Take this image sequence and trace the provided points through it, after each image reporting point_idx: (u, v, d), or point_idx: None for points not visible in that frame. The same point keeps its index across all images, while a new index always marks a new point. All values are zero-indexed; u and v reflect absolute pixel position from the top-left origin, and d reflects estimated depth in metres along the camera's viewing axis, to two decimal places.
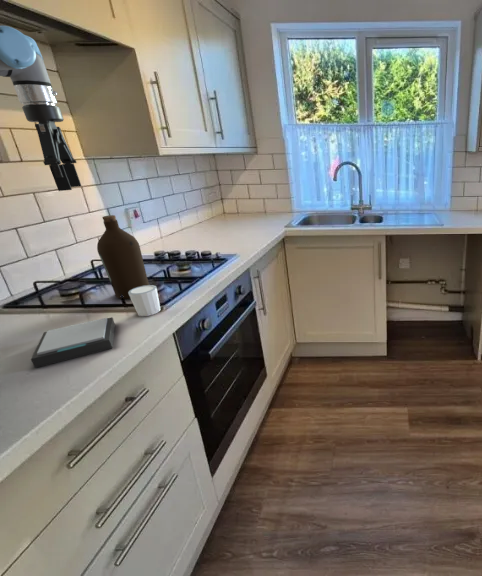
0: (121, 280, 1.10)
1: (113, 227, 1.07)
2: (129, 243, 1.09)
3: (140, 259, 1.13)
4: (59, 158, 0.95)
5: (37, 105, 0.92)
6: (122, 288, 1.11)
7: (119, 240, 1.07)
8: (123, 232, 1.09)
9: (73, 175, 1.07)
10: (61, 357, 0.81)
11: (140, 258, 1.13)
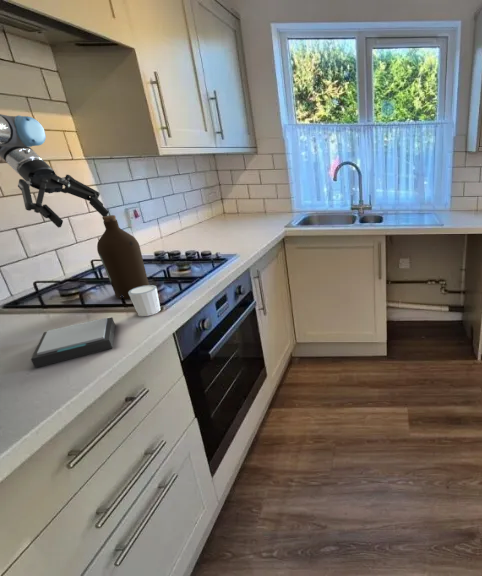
0: (121, 280, 1.10)
1: (113, 227, 1.07)
2: (129, 243, 1.09)
3: (140, 259, 1.13)
4: (40, 201, 1.03)
5: (19, 169, 1.06)
6: (122, 288, 1.11)
7: (119, 240, 1.07)
8: (123, 232, 1.09)
9: (98, 206, 1.16)
10: (61, 357, 0.81)
11: (140, 258, 1.13)
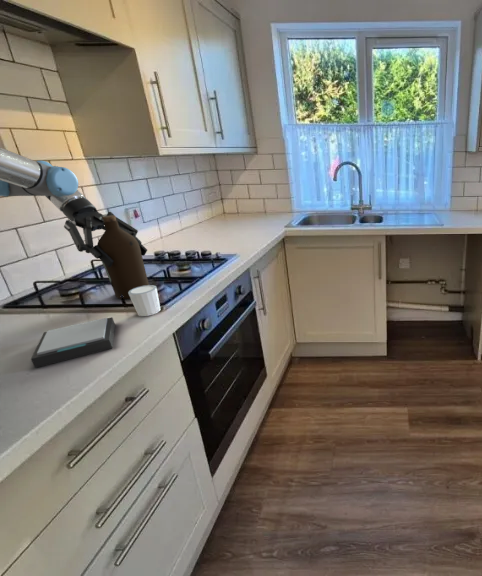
0: (121, 280, 1.10)
1: (113, 227, 1.07)
2: (129, 243, 1.09)
3: (140, 259, 1.13)
4: (91, 241, 1.05)
5: None
6: (122, 288, 1.11)
7: (119, 240, 1.07)
8: (123, 232, 1.09)
9: None
10: (61, 357, 0.81)
11: (140, 258, 1.13)
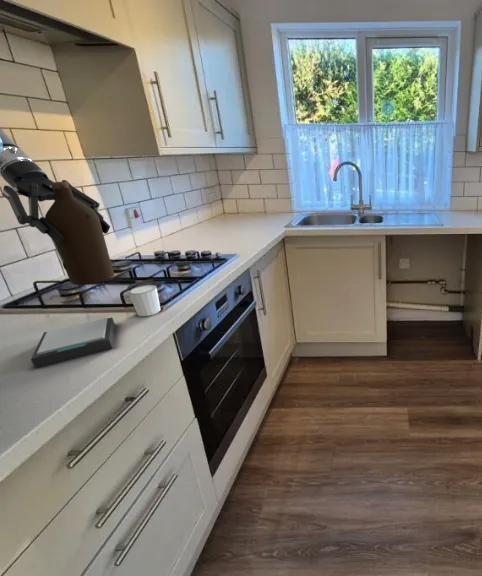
0: (75, 261, 0.90)
1: (65, 196, 0.87)
2: (85, 216, 0.89)
3: (100, 237, 0.93)
4: (36, 212, 0.85)
5: (3, 172, 0.86)
6: (77, 271, 0.91)
7: (72, 211, 0.87)
8: (78, 202, 0.89)
9: None
10: (61, 357, 0.81)
11: (100, 235, 0.93)
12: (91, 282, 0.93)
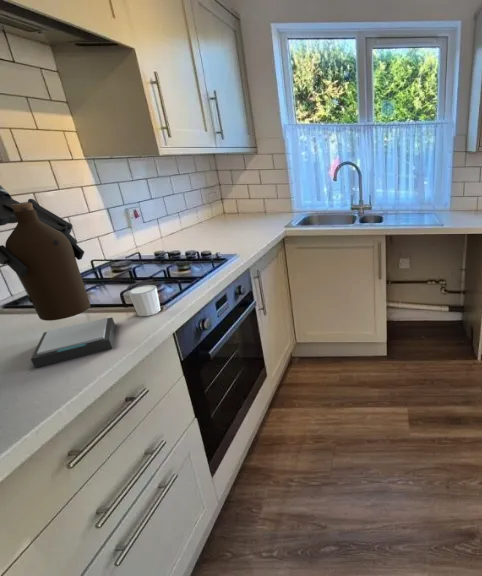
0: (42, 294, 0.77)
1: (29, 219, 0.75)
2: (52, 242, 0.76)
3: (72, 265, 0.81)
4: None
5: None
6: (45, 306, 0.79)
7: (36, 237, 0.74)
8: (44, 227, 0.77)
9: None
10: (61, 357, 0.81)
11: (72, 263, 0.81)
12: (62, 317, 0.81)
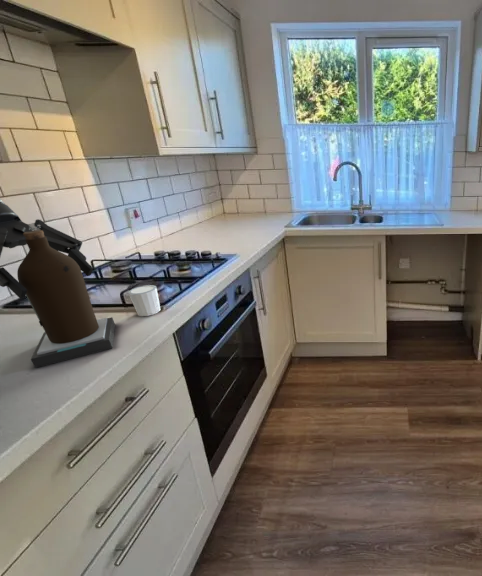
0: (53, 318, 0.80)
1: (40, 247, 0.77)
2: (63, 268, 0.79)
3: (81, 289, 0.83)
4: None
5: None
6: (56, 329, 0.81)
7: (47, 264, 0.77)
8: (55, 253, 0.79)
9: (79, 261, 0.86)
10: (61, 357, 0.81)
11: (81, 288, 0.83)
12: (72, 340, 0.83)
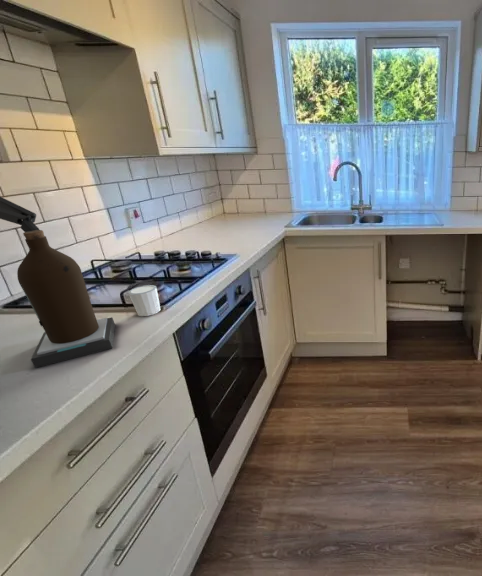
0: (53, 318, 0.80)
1: (40, 247, 0.77)
2: (63, 268, 0.79)
3: (81, 289, 0.83)
4: None
5: None
6: (56, 329, 0.81)
7: (47, 264, 0.77)
8: (55, 253, 0.79)
9: None
10: (61, 357, 0.81)
11: (81, 288, 0.83)
12: (72, 340, 0.83)
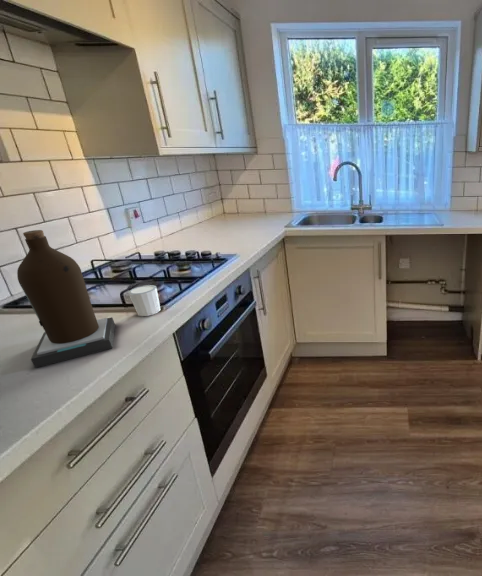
0: (53, 318, 0.80)
1: (40, 247, 0.77)
2: (63, 268, 0.79)
3: (81, 289, 0.83)
4: None
5: None
6: (56, 329, 0.81)
7: (47, 264, 0.77)
8: (55, 253, 0.79)
9: None
10: (61, 357, 0.81)
11: (81, 288, 0.83)
12: (72, 340, 0.83)
